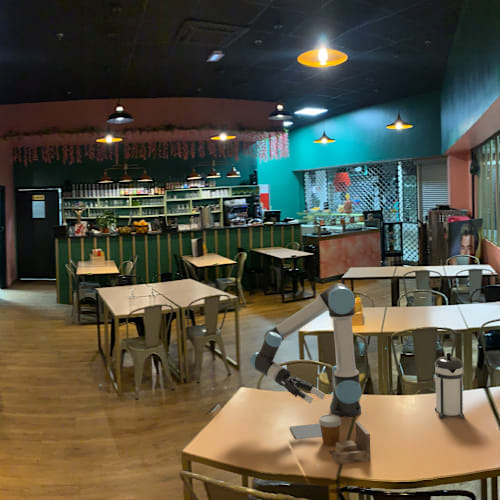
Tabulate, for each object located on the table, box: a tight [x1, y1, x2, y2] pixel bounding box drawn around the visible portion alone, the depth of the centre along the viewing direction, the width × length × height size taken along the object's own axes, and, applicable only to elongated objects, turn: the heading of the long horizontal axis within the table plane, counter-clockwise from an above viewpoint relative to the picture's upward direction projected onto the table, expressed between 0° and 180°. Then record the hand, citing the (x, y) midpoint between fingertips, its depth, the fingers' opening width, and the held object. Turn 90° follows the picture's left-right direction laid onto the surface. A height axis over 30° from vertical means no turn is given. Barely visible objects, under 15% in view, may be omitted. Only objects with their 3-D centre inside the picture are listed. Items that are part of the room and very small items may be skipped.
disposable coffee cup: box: [318, 414, 342, 447], centre depth 234 cm, size 10×10×12 cm
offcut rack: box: [328, 421, 372, 465], centre depth 222 cm, size 14×13×12 cm
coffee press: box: [434, 352, 465, 420], centre depth 262 cm, size 17×16×30 cm
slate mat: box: [289, 423, 322, 440], centre depth 249 cm, size 14×14×1 cm
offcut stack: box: [334, 439, 358, 453], centre depth 222 cm, size 8×6×5 cm
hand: (317, 398), depth 244 cm, fingers open, 13 cm apart
